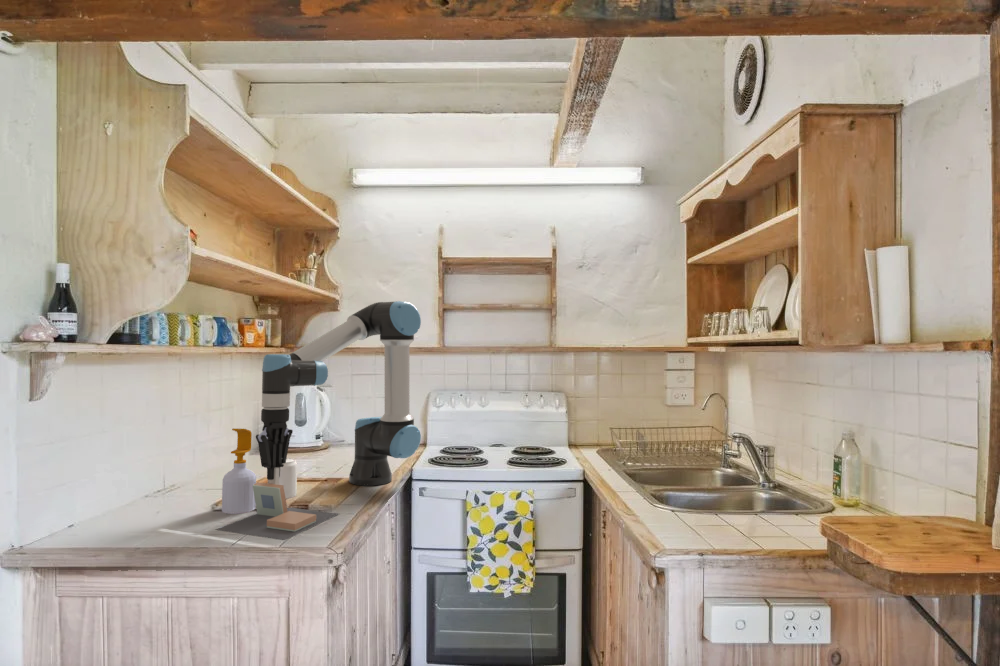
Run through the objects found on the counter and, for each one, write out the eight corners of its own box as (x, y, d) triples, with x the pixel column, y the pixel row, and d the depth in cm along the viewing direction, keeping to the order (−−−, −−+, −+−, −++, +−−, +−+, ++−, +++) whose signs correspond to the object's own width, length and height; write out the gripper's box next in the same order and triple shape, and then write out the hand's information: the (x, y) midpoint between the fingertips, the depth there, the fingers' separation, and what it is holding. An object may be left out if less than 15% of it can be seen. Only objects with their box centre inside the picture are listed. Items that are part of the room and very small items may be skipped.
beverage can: (263, 499, 185) (264, 461, 186) (281, 493, 193) (282, 456, 193) (285, 502, 183) (285, 463, 183) (301, 495, 191) (302, 458, 191)
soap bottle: (216, 515, 168) (218, 429, 168) (230, 506, 177) (232, 425, 177) (247, 516, 168) (249, 430, 168) (260, 507, 177) (262, 425, 177)
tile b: (262, 510, 170) (257, 482, 168) (287, 514, 167) (283, 485, 165) (257, 514, 168) (252, 485, 166) (283, 518, 165) (278, 488, 163)
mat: (277, 507, 177) (277, 505, 177) (339, 516, 170) (339, 514, 170) (215, 531, 154) (215, 529, 154) (284, 542, 147) (284, 540, 147)
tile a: (289, 510, 164) (266, 520, 156) (316, 514, 161) (295, 524, 153) (289, 518, 164) (266, 528, 156) (316, 522, 161) (294, 532, 153)
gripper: (280, 405, 175) (277, 483, 175) (248, 409, 163) (245, 494, 163) (301, 406, 173) (298, 486, 173) (270, 411, 161) (267, 497, 160)
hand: (273, 490), depth 168 cm, fingers closed
